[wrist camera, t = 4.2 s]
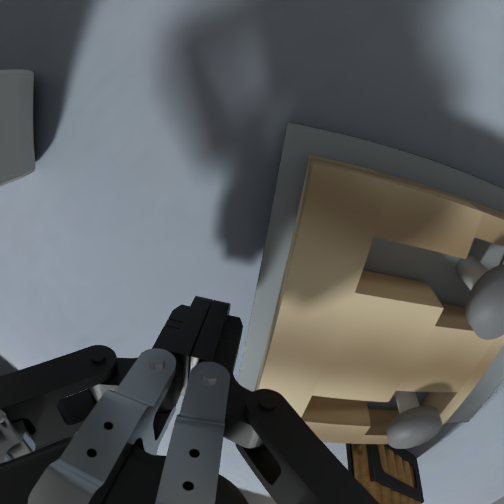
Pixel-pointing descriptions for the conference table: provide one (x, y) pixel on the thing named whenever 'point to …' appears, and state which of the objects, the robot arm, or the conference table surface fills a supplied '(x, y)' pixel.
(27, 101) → the rounded white slab
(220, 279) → the conference table surface
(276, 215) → the board
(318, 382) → the beech panel
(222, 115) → the conference table surface
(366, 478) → the ammunition clip
